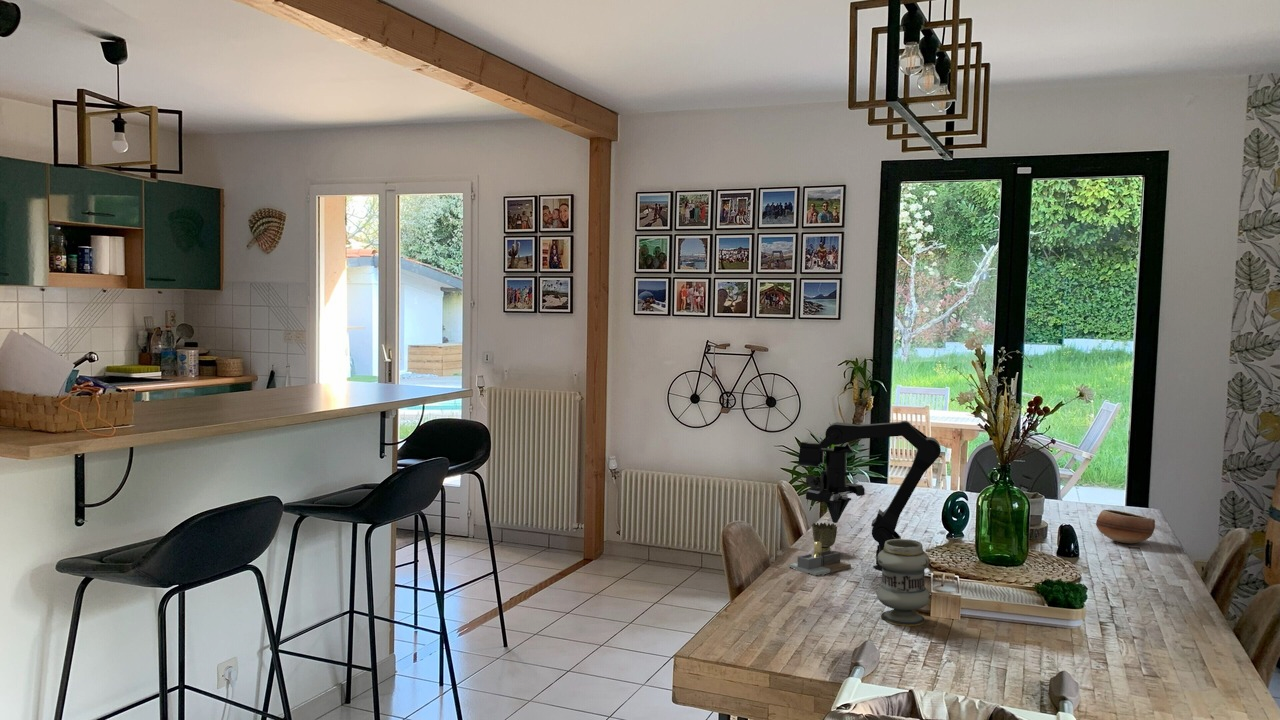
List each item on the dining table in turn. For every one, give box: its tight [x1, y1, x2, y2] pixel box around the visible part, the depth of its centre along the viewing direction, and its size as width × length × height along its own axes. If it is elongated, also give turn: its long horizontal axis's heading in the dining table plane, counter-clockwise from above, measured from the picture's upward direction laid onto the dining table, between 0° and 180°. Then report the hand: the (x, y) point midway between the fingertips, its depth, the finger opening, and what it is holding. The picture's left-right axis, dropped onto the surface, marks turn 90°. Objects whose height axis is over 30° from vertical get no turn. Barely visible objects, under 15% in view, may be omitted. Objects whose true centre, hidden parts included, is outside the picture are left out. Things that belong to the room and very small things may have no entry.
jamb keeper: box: [788, 553, 831, 576], centre depth 262 cm, size 10×6×4 cm, turn 37°
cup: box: [811, 522, 838, 552], centre depth 283 cm, size 8×7×8 cm
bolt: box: [806, 541, 823, 565], centre depth 263 cm, size 2×6×6 cm, turn 127°
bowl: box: [1095, 509, 1156, 544], centre depth 296 cm, size 16×16×10 cm
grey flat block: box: [821, 549, 852, 573], centre depth 266 cm, size 10×8×4 cm
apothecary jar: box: [876, 538, 931, 627], centre depth 220 cm, size 12×12×18 cm
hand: (835, 522), depth 268 cm, fingers closed
